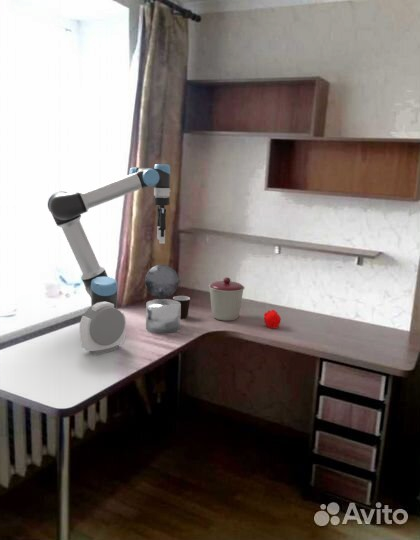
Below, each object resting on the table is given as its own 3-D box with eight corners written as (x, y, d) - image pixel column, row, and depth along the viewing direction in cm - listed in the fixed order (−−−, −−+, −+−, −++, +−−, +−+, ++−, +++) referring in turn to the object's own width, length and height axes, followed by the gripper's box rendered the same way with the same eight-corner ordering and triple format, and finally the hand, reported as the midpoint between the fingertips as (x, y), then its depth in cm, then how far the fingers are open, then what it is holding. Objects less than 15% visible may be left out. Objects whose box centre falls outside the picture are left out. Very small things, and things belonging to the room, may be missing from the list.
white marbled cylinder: (147, 334, 228) (147, 308, 225) (144, 322, 245) (145, 298, 242) (182, 333, 231) (182, 308, 228) (177, 321, 248) (178, 297, 245)
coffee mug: (189, 320, 251) (189, 300, 248) (171, 319, 251) (172, 300, 249) (190, 313, 262) (191, 294, 260) (173, 312, 262) (174, 294, 260)
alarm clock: (116, 342, 216) (116, 297, 212) (127, 348, 210) (127, 301, 206) (78, 352, 204) (77, 304, 200) (89, 358, 198) (88, 309, 194)
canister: (208, 311, 266) (209, 272, 261) (242, 313, 265) (244, 274, 261) (206, 322, 248) (208, 280, 244) (243, 324, 248) (245, 282, 243)
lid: (145, 264, 240) (144, 264, 243) (145, 298, 241) (144, 297, 244) (178, 264, 243) (177, 264, 246) (178, 297, 244) (177, 297, 247)
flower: (263, 319, 240) (261, 313, 248) (269, 333, 242) (266, 327, 249) (278, 313, 239) (276, 307, 247) (284, 327, 241) (281, 321, 249)
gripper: (172, 198, 233) (171, 245, 237) (167, 195, 256) (166, 237, 260) (156, 198, 231) (155, 245, 236) (152, 194, 254) (151, 237, 259)
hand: (160, 241), depth 248 cm, fingers open, 11 cm apart
